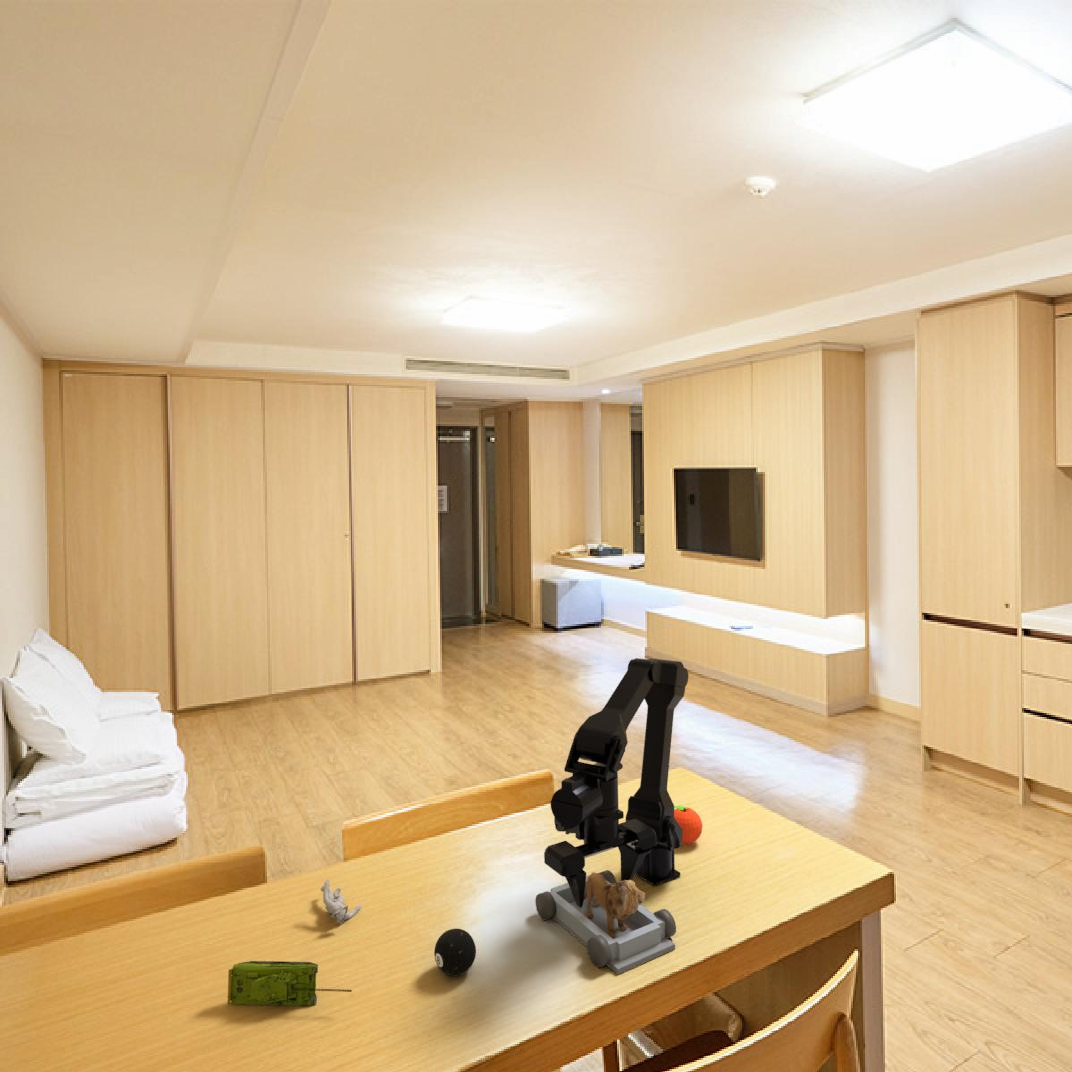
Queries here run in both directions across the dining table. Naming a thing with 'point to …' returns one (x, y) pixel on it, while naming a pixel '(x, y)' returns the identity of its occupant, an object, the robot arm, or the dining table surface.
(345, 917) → the grey irregular piece
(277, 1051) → the dining table surface
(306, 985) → the toy tank
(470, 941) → the billiard ball
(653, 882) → the robot arm
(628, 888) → the lion figurine
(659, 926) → the chassis
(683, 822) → the clementine
